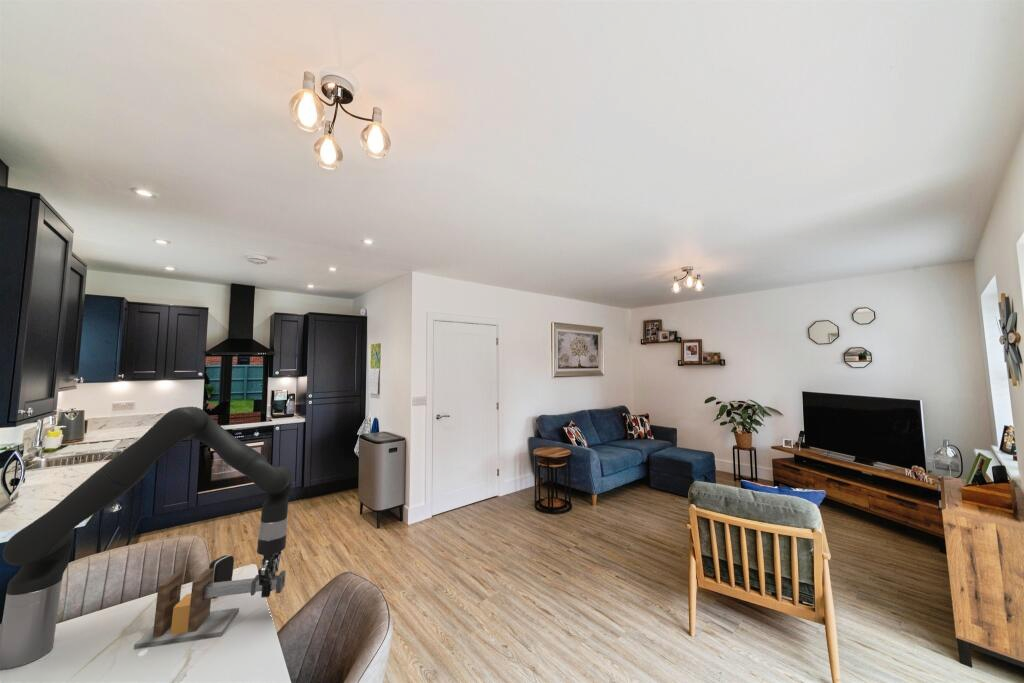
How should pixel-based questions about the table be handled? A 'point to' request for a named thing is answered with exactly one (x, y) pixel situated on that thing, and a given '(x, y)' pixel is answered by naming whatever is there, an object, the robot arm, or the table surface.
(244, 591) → the shaft
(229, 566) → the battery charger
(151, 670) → the table surface
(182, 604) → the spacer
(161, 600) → the stand
